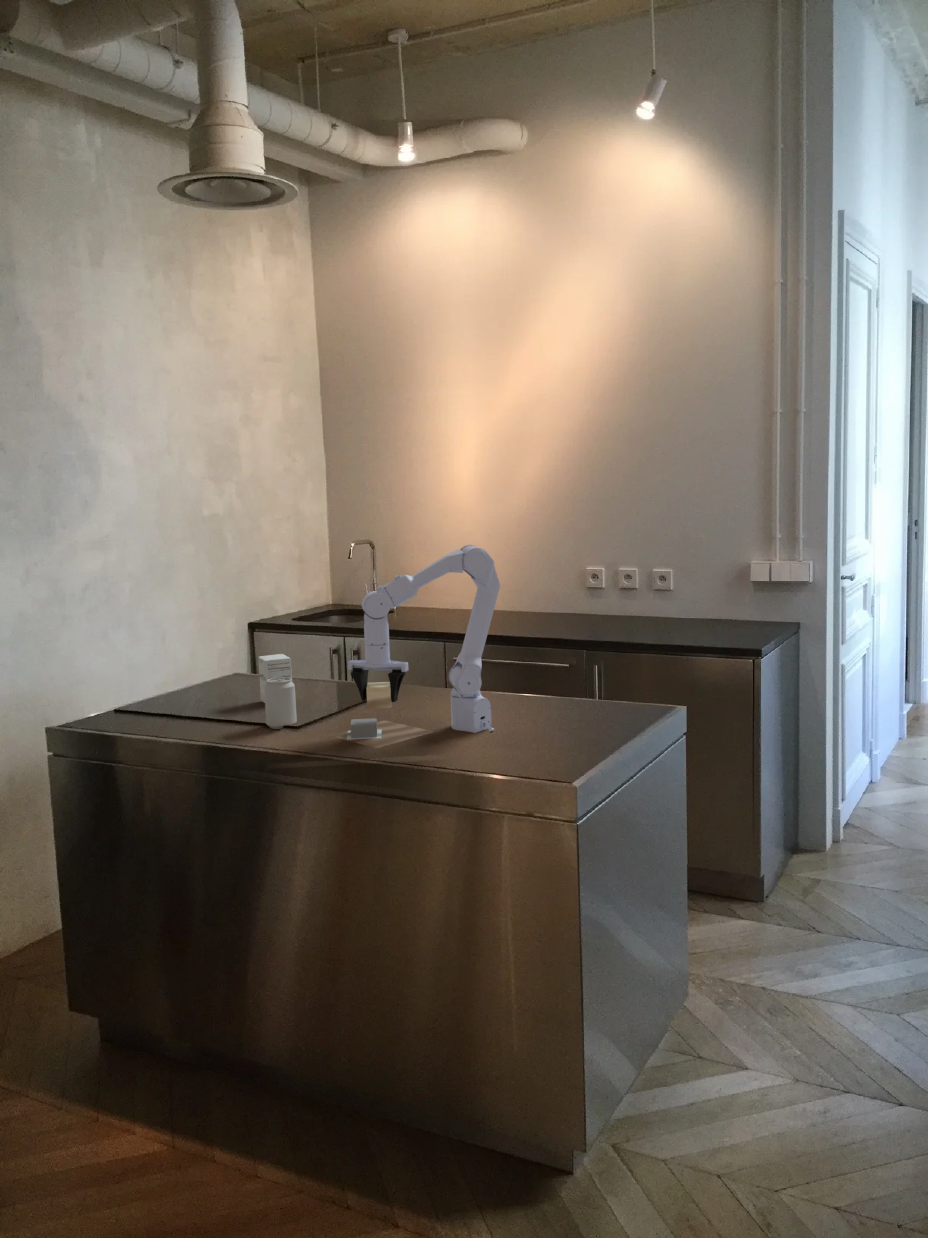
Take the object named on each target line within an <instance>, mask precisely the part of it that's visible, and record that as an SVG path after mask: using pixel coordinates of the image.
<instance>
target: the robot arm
mask: <svg viewBox="0 0 928 1238" xmlns="http://www.w3.org/2000/svg"><path fill="white" fill-rule="evenodd" d="M464 572H465V573H466V574H467V575H469V576H470V578H471V580H472V582H473V583H474V584H475V586H476V588H477V589H476V592H475V597H474V600H473V604H472V609H471V612H470V616H469V620H468V623H467V628H466V632H465V635H464V639H463V643H462V647H461V651H460V652H459V654H458V656H457V658H456V661H455V663H454V665H453V666H452V667H451V668H450V670H449V672H448V681H449V683H450V685H451V686H452V690H451V691H450V692H449V693H450V697H449V698H450V720H451V721H450V722H451V729H453V730H455V731H460V732H461V731H464V732H469V733H473V734H476V733H479V732H482V731H486V730H488V732H490V733H491V732H492V731H493V732H494V731H495V728H494V727H492V706H491V702H490V700H489V699H488V698H486V697H484V696H483V695H482V692H481V687H482V685H483V684H482V677H481V673H482V669H483V668H482V666H483V665H482V656H483V652H484V649H485V645H486V641H487V637H488V634H489V630H490V626H491V622H492V619H493V614H494V611H495V608H496V607H495V606H496V603H497V599H498V595H499V591H500V587H501V583H500V580H499V577H498V573H497V571H496V566H495V561H494V559H493V558H492V557H491V555H490V554H489V552H487V550H485V549H484V548H481V547H478V546H476V545H473V544H467V545H464V546H463V547H461V548H460V549H455V550H453V551H451V552H449V553H447V554H446V555H443V556H442V557H441V558H439V559H437V560H435V561H434V562H432V563H431V564H429V565H427V566H426V567H424V568H423V569H421V570H420V571H418V572H416V573H414V574H413V575H408V574H402V575H400V574H399V573H398V574H397V575H394V580H392V581H390V582H387V583H386V584H384V585H382V586H381V585H378V586H377V587H376V590H377V591H375V590H374V591H373V590H372V591H369V592H368V593H366V594H365V595H364V597H362V601H361V604H360V605H361V608H362V610H363V612H364V613H363V614H364V615H363V621H364V624H363V632H364V633H363V634H364V638H363V639H364V655H365V656H364V657H365V659H358V660H357V659H356V660H355V659H354V660H353V659H351V660H349V661H347V670H351V672H350V676H351V678H352V680H353V681H354V682H355V683H354V684H356V686H357V689H358V692H359V697H360V698H361V701H362V702H365V701H367V690H366V687H367V684H368V679H369V671H388V672H389V671H390V672H389V673H387V676H388V682H390V687H391V702H392V703H396V702H398V699H399V693H400V688H401V684H402V682H403V680H404V677H405V676H406V674H407V673H406V672H408V671H409V662H407V661H399V660H398V661H397V660H391V652H390V650H391V649H390V647H391V646H390V631H389V630H390V627H389V624H390V623H389V622H388V614H389V612H390V610H391V609H395V608H397V607H399V606H401V605H402V604H405V603H406V602H408V601H410V600H411V599H413V598H415V597H416V596H417V595H418V591H419V589H420V588H421V587H423V586H425V585H427V584H429V583H431V582H434V581H435V580H437V579H439V578H441V577H443V576H445V575H446V574H449V573H455V574H457V573H459V574H461V573H462V574H464Z"/></svg>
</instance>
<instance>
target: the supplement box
mask: <svg viewBox="0 0 928 1238" xmlns="http://www.w3.org/2000/svg"><path fill="white" fill-rule="evenodd" d="M291 659H292V658H291V657H289V656H288V655H285V654H284V653H277V654H268V655H262V656H261V655H260V656H258V674H259V675H258V677H259V690H260V702H262V703H264V704H265V694H264V686H265V685H266V684H267V680H268V679H270V678H276V677H289V678H291V679H292V680H291V681H292V682H293V675H292V673H293V672H292V660H291Z"/></svg>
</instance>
